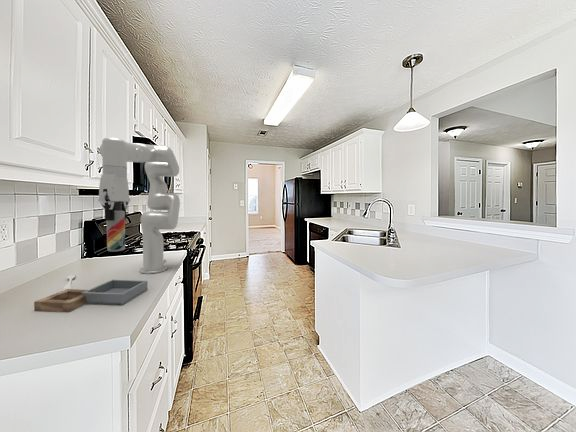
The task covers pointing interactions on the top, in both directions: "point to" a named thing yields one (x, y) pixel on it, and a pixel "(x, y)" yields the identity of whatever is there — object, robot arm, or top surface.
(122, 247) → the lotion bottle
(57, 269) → the top surface
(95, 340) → the top surface
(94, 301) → the tray
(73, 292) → the socket stand
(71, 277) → the fork
